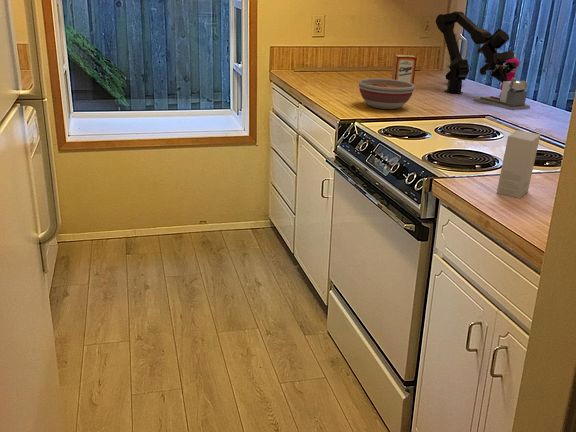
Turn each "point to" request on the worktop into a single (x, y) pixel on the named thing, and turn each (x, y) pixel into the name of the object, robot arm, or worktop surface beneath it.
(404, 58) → the orange white cardboard box
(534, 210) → the worktop surface
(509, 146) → the skincare box
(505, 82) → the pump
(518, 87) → the base
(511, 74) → the pepper mill
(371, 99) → the bowl
